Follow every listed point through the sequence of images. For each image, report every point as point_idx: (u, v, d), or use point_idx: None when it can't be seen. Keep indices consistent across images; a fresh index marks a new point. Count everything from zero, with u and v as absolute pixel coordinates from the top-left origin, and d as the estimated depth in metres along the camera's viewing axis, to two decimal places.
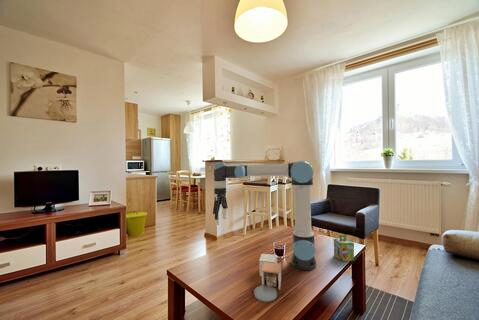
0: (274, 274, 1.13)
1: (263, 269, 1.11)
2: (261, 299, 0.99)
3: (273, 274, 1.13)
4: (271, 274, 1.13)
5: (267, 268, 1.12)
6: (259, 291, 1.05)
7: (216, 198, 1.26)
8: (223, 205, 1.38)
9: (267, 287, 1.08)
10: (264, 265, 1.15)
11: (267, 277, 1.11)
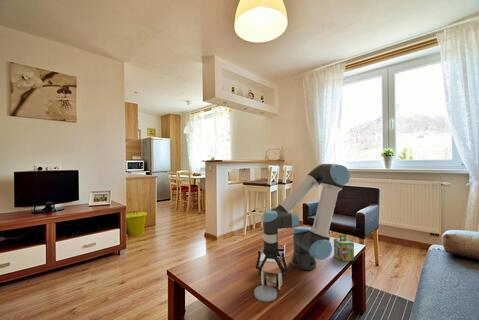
0: (274, 274, 1.13)
1: (263, 269, 1.11)
2: (261, 299, 0.99)
3: (273, 274, 1.13)
4: (271, 274, 1.13)
5: (267, 268, 1.12)
6: (259, 291, 1.05)
7: None
8: None
9: (267, 287, 1.08)
10: (264, 265, 1.15)
11: (267, 277, 1.11)
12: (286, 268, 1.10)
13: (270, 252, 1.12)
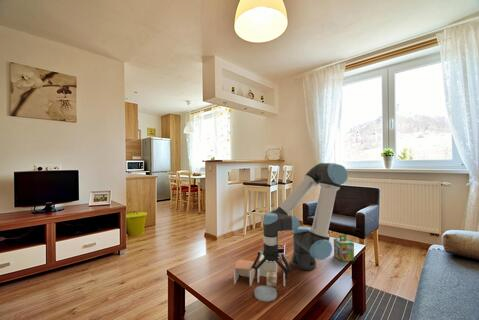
0: (274, 274, 1.13)
1: (235, 266, 1.14)
2: (261, 299, 0.99)
3: (273, 274, 1.13)
4: (271, 274, 1.13)
5: (239, 265, 1.15)
6: (259, 291, 1.05)
7: (258, 252, 1.15)
8: None
9: (267, 287, 1.08)
10: (237, 262, 1.19)
11: (267, 277, 1.11)
12: (289, 269, 1.09)
13: (270, 254, 1.12)
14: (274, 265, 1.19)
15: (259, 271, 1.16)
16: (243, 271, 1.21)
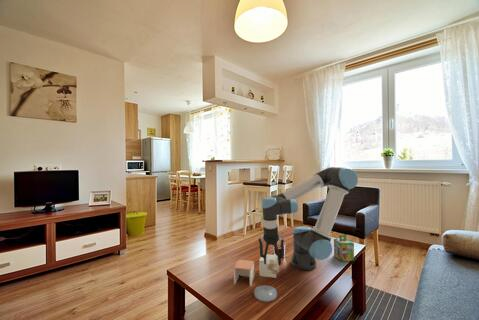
0: (275, 262, 1.13)
1: (235, 266, 1.14)
2: (261, 299, 0.99)
3: (274, 262, 1.13)
4: (272, 262, 1.13)
5: (239, 265, 1.15)
6: (259, 291, 1.05)
7: None
8: None
9: (267, 287, 1.08)
10: (237, 262, 1.19)
11: (268, 265, 1.11)
12: (283, 255, 1.11)
13: (270, 238, 1.12)
14: None
15: (267, 260, 1.15)
16: (243, 270, 1.21)
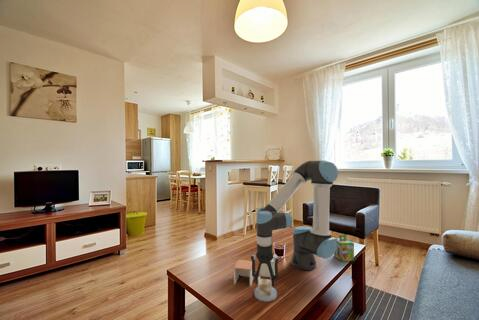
0: (267, 282, 1.03)
1: (235, 266, 1.14)
2: (261, 299, 0.99)
3: (266, 282, 1.03)
4: (264, 282, 1.03)
5: (239, 265, 1.15)
6: None
7: None
8: None
9: None
10: (237, 262, 1.19)
11: (260, 285, 1.02)
12: (277, 275, 1.01)
13: (263, 256, 1.03)
14: (274, 265, 1.19)
15: None
16: (243, 271, 1.21)
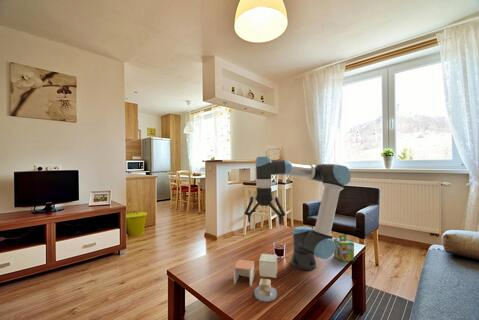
0: (267, 282, 1.03)
1: (235, 266, 1.14)
2: (261, 299, 0.99)
3: (266, 282, 1.03)
4: (264, 282, 1.03)
5: (239, 265, 1.15)
6: None
7: None
8: None
9: None
10: (237, 262, 1.19)
11: (260, 285, 1.02)
12: (283, 212, 1.04)
13: (263, 199, 1.06)
14: (274, 265, 1.19)
15: (252, 218, 1.10)
16: (243, 271, 1.21)
